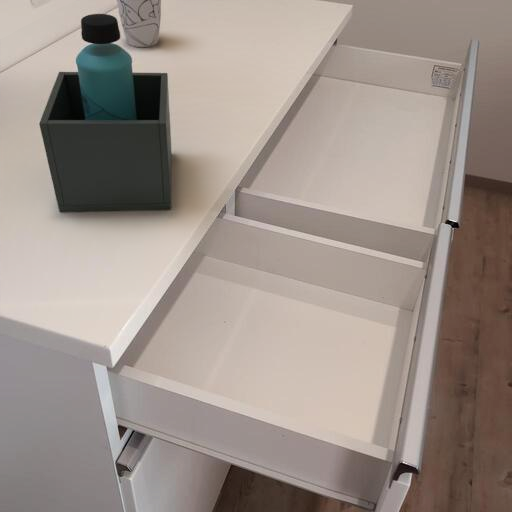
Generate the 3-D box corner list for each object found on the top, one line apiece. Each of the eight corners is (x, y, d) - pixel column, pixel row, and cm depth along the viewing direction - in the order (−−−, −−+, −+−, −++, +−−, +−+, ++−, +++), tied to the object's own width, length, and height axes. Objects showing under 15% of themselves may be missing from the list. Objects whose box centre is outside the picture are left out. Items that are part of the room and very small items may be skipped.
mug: (107, 33, 112) (100, -19, 105) (144, 27, 116) (140, -24, 109) (133, 52, 105) (128, -3, 98) (171, 45, 109) (168, -9, 103)
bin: (59, 212, 67) (39, 123, 59) (74, 154, 77) (58, 71, 69) (171, 209, 68) (166, 123, 61) (171, 153, 79) (167, 72, 71)
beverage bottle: (127, 155, 76) (110, 3, 62) (153, 177, 72) (140, 21, 59) (84, 169, 72) (56, 12, 59) (108, 193, 69) (84, 32, 55)
